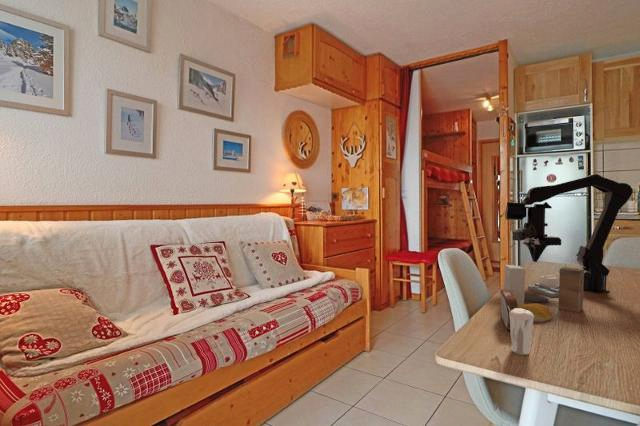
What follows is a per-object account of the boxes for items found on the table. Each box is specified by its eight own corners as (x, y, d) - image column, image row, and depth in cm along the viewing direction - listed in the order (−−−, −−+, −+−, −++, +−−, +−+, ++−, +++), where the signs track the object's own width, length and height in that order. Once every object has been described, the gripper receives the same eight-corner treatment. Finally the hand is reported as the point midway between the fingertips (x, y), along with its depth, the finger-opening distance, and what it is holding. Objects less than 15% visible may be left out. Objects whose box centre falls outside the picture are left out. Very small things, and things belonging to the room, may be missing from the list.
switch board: (557, 288, 135) (557, 282, 135) (582, 296, 124) (582, 290, 124) (527, 289, 133) (527, 283, 133) (550, 297, 123) (550, 291, 123)
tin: (520, 336, 87) (521, 301, 87) (505, 334, 88) (506, 299, 88) (510, 317, 101) (511, 286, 101) (498, 315, 102) (499, 285, 102)
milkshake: (500, 348, 80) (501, 302, 79) (523, 347, 80) (524, 302, 80) (512, 357, 75) (514, 309, 75) (537, 356, 76) (539, 308, 75)
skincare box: (524, 308, 109) (525, 268, 109) (509, 307, 110) (510, 268, 110) (517, 303, 115) (519, 265, 115) (503, 302, 116) (504, 264, 115)
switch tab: (549, 285, 134) (549, 274, 134) (557, 288, 130) (558, 276, 130) (539, 285, 133) (539, 274, 133) (547, 288, 129) (548, 277, 129)
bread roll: (556, 319, 101) (557, 304, 100) (540, 325, 96) (540, 309, 96) (525, 311, 108) (526, 297, 107) (509, 316, 103) (509, 302, 102)
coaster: (534, 295, 125) (534, 293, 125) (555, 302, 116) (555, 300, 116) (510, 295, 124) (510, 294, 124) (529, 303, 115) (529, 301, 115)
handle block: (562, 305, 113) (564, 266, 113) (582, 308, 110) (584, 269, 109) (558, 308, 110) (559, 268, 109) (578, 312, 106) (580, 271, 106)
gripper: (500, 219, 146) (499, 258, 146) (534, 222, 127) (533, 266, 128) (526, 219, 147) (525, 257, 148) (563, 221, 129) (561, 266, 130)
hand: (534, 261), depth 138 cm, fingers closed
